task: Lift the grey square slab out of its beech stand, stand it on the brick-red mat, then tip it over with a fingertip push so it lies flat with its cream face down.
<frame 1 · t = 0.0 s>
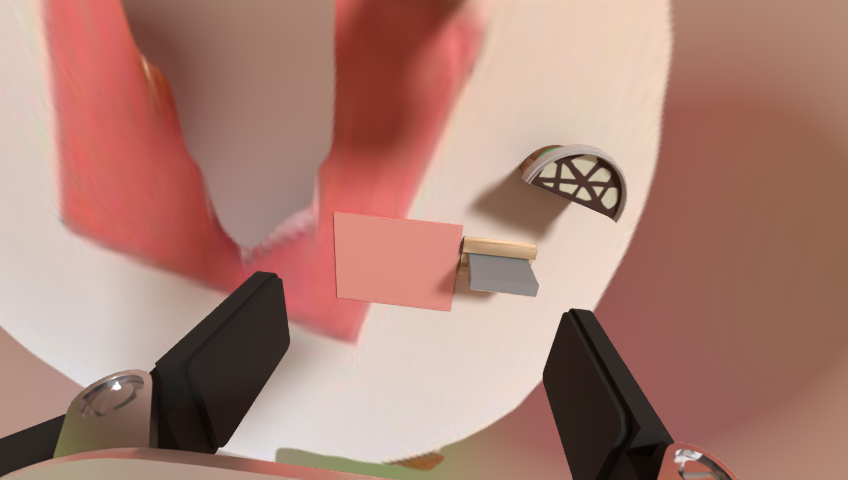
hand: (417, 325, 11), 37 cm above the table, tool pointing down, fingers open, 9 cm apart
grey square slab: (496, 259, 50), resting on stand
half round cake: (560, 160, 43), on the table
stand: (496, 258, 50), on the table
mat: (395, 263, 52), on the table
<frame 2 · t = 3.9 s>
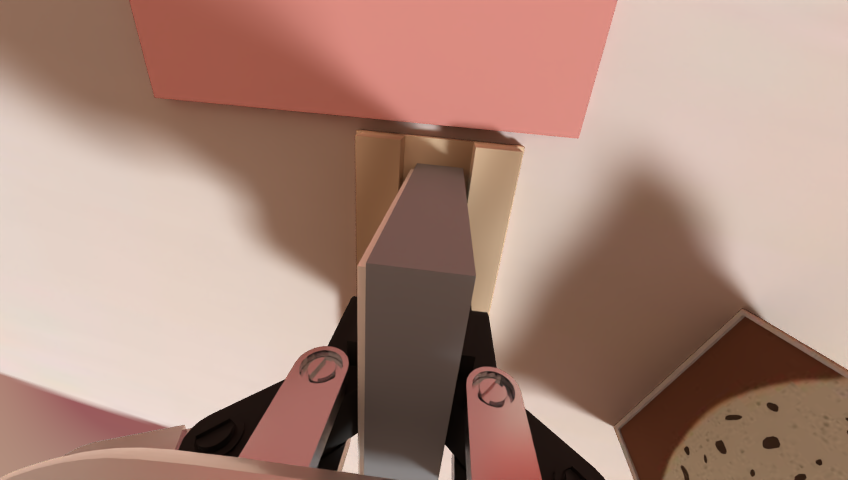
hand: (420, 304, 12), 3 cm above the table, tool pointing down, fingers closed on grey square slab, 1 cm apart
grey square slab: (426, 264, 14), resting on stand, touching gripper
half round cake: (717, 391, 17), on the table
stand: (427, 260, 15), on the table
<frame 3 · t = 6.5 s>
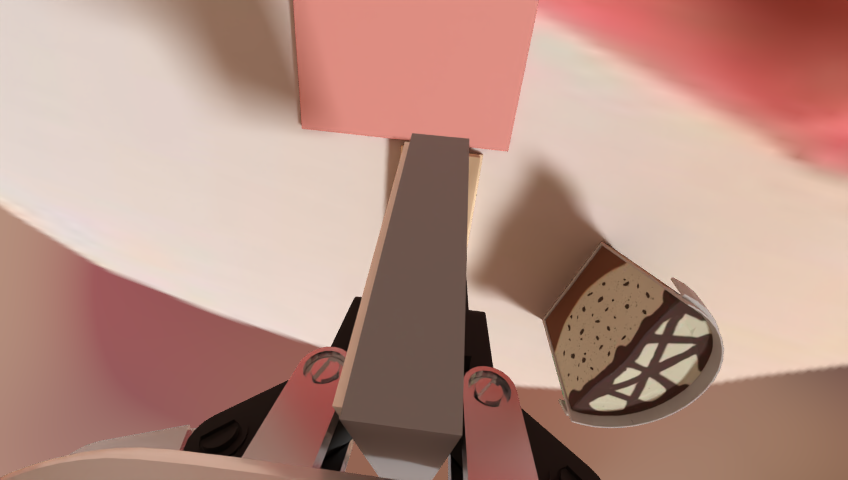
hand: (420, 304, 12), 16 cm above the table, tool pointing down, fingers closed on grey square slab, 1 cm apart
grey square slab: (429, 233, 13), point 13 cm above the table, tilted 23°, touching gripper
half round cake: (598, 294, 29), on the table
stand: (434, 214, 27), on the table
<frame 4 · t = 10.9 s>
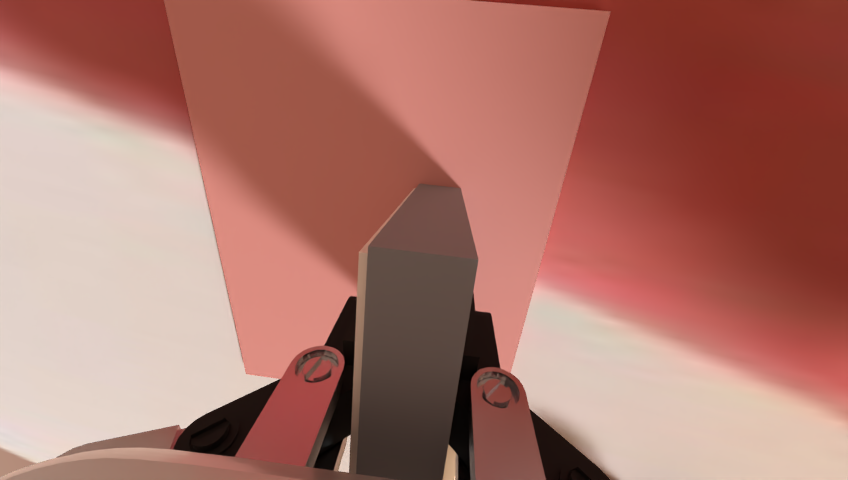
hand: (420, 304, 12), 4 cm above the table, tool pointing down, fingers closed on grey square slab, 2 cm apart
grey square slab: (432, 203, 9), point 5 cm above the table, tilted 82°, touching gripper, mat
stand: (413, 449, 22), on the table
mat: (375, 243, 16), on the table
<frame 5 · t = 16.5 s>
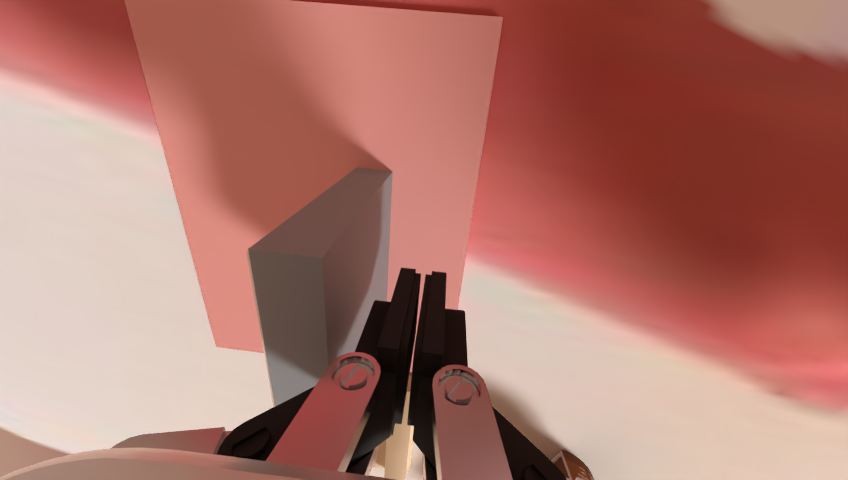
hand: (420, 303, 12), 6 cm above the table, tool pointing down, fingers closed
grey square slab: (342, 196, 11), point 5 cm above the table, tilted 90°, touching gripper, mat
stand: (373, 418, 24), on the table
mat: (324, 223, 18), on the table
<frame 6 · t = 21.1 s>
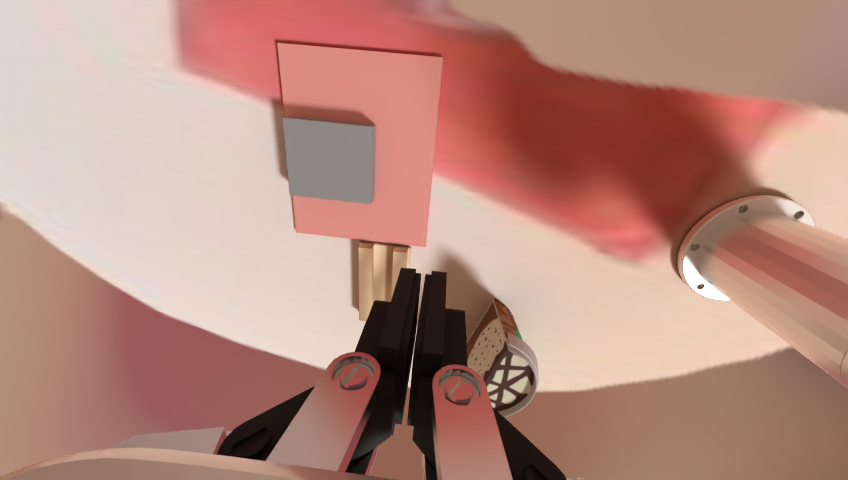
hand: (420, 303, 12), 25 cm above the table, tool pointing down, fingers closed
grey square slab: (330, 121, 32), point 1 cm above the table, tilted 90°, touching mat
half round cake: (497, 330, 44), on the table
stand: (383, 281, 41), on the table
mat: (361, 155, 35), on the table
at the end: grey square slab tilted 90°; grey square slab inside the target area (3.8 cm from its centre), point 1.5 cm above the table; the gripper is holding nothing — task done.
